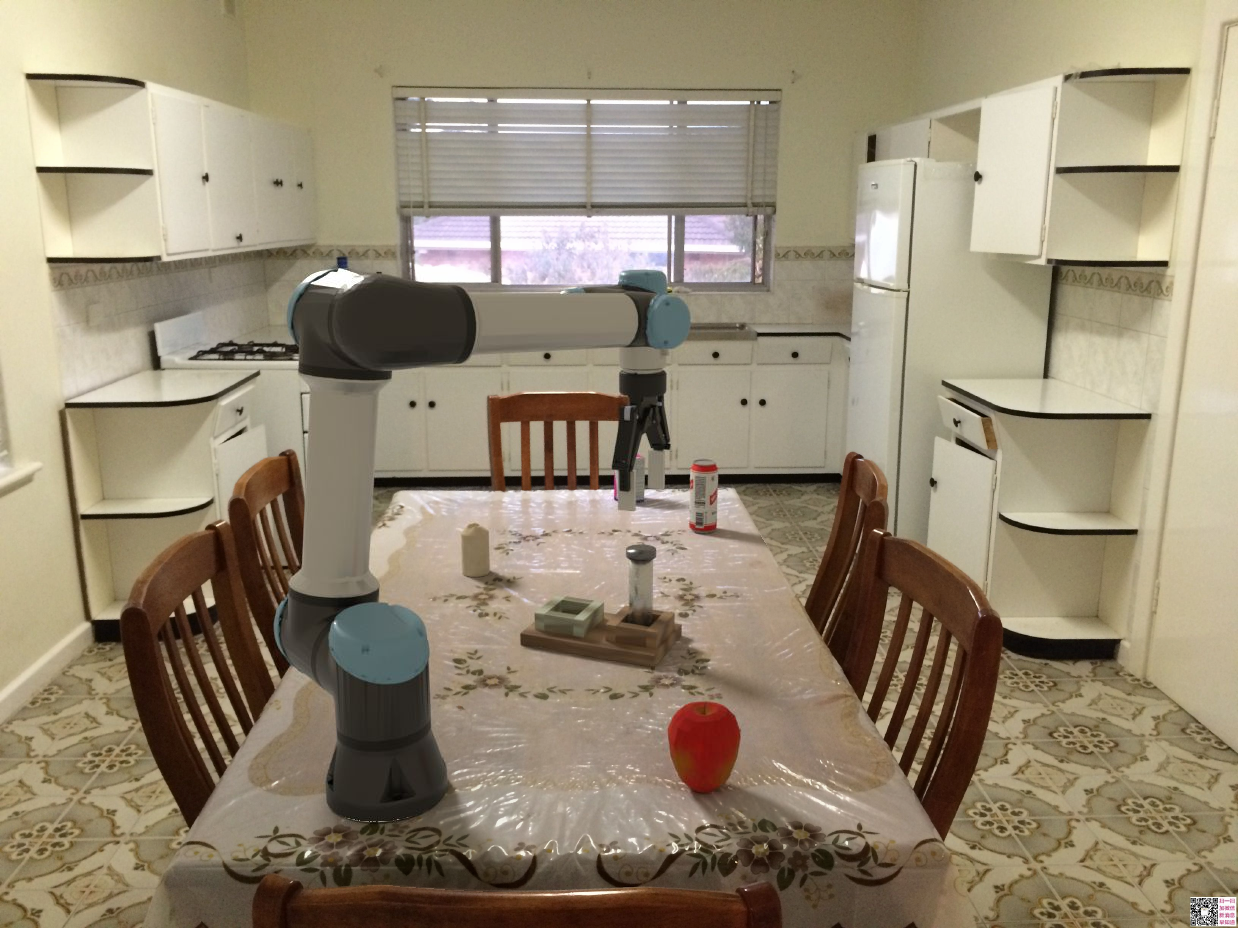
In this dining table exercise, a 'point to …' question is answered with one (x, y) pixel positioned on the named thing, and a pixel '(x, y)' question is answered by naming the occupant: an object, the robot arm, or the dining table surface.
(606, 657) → the socket board
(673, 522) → the dining table surface
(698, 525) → the beer can
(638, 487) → the supplement box
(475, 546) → the candle
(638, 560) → the lock pin
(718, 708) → the apple
